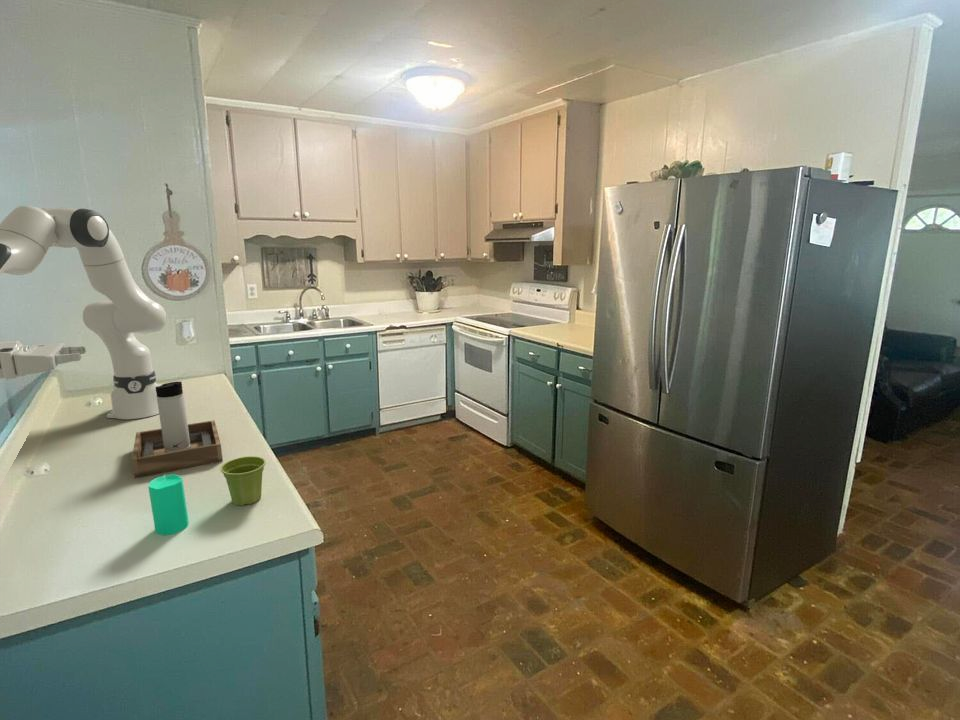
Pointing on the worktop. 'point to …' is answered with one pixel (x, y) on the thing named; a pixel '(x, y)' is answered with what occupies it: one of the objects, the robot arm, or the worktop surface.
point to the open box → (175, 452)
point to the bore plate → (159, 443)
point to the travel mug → (173, 416)
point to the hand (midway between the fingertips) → (83, 353)
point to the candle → (168, 504)
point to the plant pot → (244, 478)
